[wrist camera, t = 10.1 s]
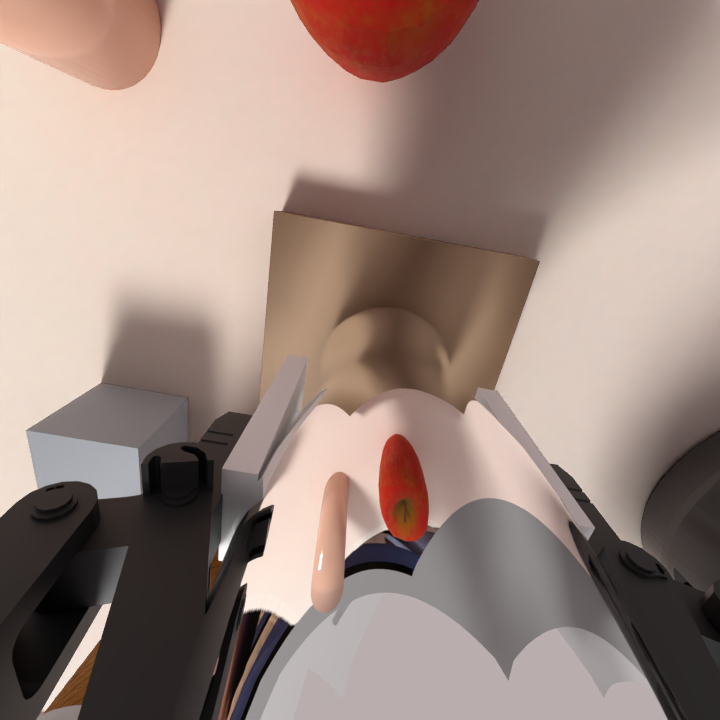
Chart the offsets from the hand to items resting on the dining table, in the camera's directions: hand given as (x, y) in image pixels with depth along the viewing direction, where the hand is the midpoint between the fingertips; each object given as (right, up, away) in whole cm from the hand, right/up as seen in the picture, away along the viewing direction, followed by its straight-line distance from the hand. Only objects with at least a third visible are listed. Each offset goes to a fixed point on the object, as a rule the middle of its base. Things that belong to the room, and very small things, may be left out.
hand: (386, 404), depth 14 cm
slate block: (-14, -2, +8) cm, 16 cm away
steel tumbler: (0, +1, +3) cm, 4 cm away
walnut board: (0, +2, +5) cm, 6 cm away
